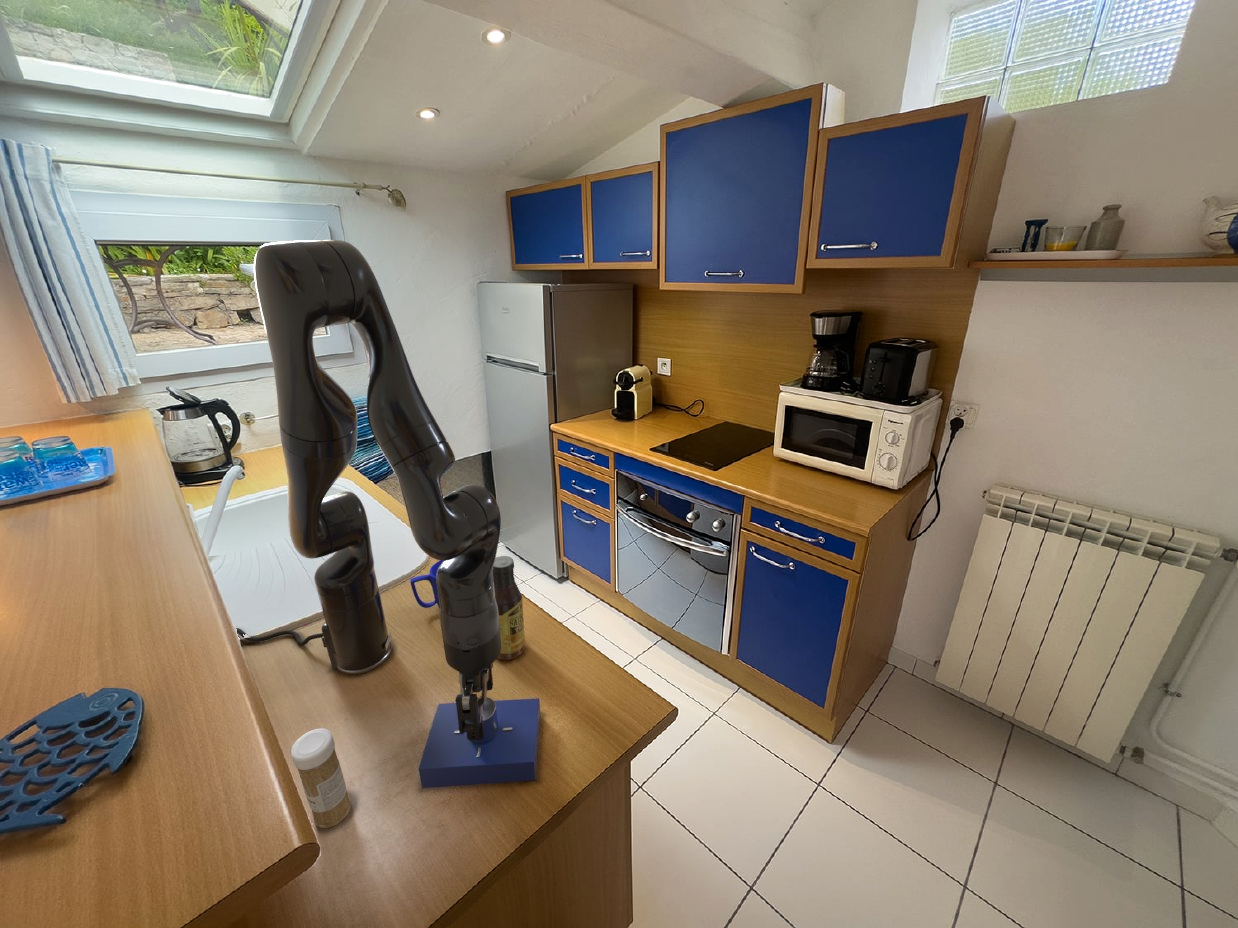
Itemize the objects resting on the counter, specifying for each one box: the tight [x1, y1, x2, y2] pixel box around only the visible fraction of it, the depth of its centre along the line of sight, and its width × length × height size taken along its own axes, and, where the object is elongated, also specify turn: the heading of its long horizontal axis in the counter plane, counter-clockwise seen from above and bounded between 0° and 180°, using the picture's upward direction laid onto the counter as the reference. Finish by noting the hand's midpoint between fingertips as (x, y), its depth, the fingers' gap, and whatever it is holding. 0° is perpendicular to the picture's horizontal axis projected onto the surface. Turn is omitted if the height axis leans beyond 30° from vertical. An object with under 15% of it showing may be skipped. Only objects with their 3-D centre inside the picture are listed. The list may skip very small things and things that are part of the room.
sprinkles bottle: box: [290, 727, 352, 829], centre depth 64 cm, size 5×5×14 cm
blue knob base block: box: [418, 697, 541, 789], centre depth 75 cm, size 16×11×4 cm
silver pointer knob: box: [472, 695, 498, 744], centre depth 73 cm, size 4×4×5 cm
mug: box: [409, 560, 443, 609], centre depth 104 cm, size 8×12×10 cm
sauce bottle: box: [493, 555, 526, 661], centre depth 91 cm, size 6×6×20 cm
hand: (481, 712), depth 73 cm, fingers open, 8 cm apart
